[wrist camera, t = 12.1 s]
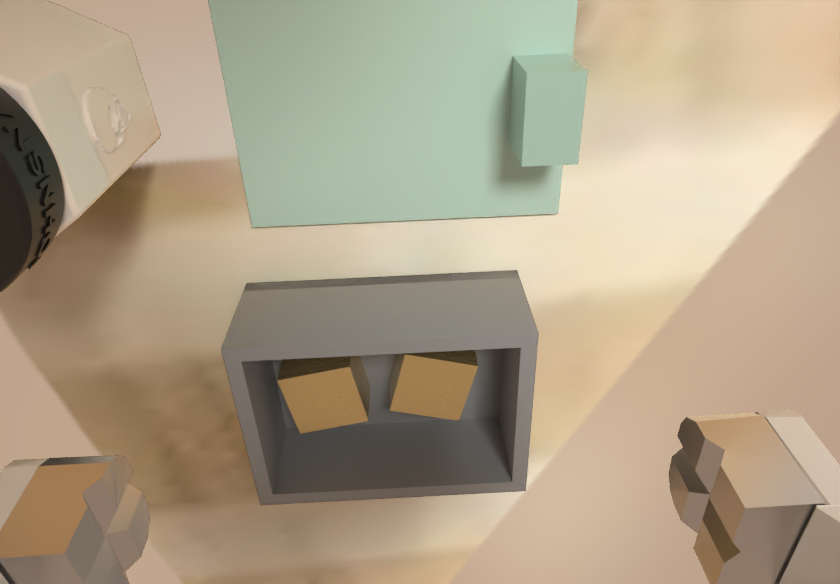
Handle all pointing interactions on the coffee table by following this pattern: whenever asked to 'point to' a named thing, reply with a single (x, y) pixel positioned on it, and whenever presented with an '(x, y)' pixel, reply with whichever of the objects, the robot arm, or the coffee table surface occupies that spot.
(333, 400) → the part
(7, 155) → the jar
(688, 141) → the coffee table surface
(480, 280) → the tub
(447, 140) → the lid
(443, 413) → the part
